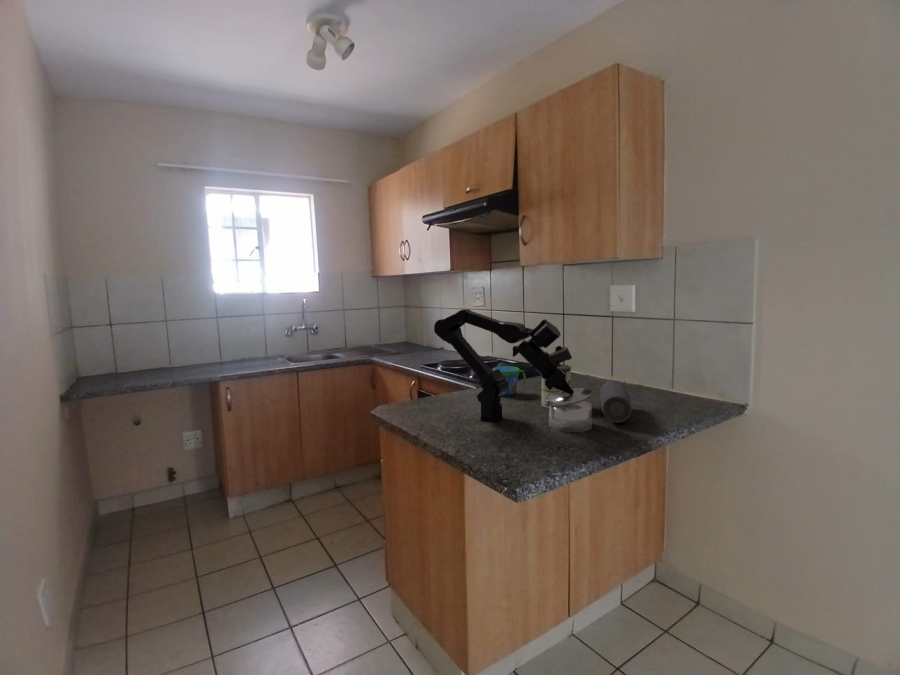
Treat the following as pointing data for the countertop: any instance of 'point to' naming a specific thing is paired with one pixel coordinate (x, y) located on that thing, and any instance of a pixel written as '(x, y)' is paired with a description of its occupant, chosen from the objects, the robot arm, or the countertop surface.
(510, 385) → the snack cup
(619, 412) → the bluetooth speaker
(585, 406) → the grey round canister
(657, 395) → the countertop surface
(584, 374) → the countertop surface
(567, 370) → the coffee can
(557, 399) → the cooker lid
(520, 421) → the countertop surface
